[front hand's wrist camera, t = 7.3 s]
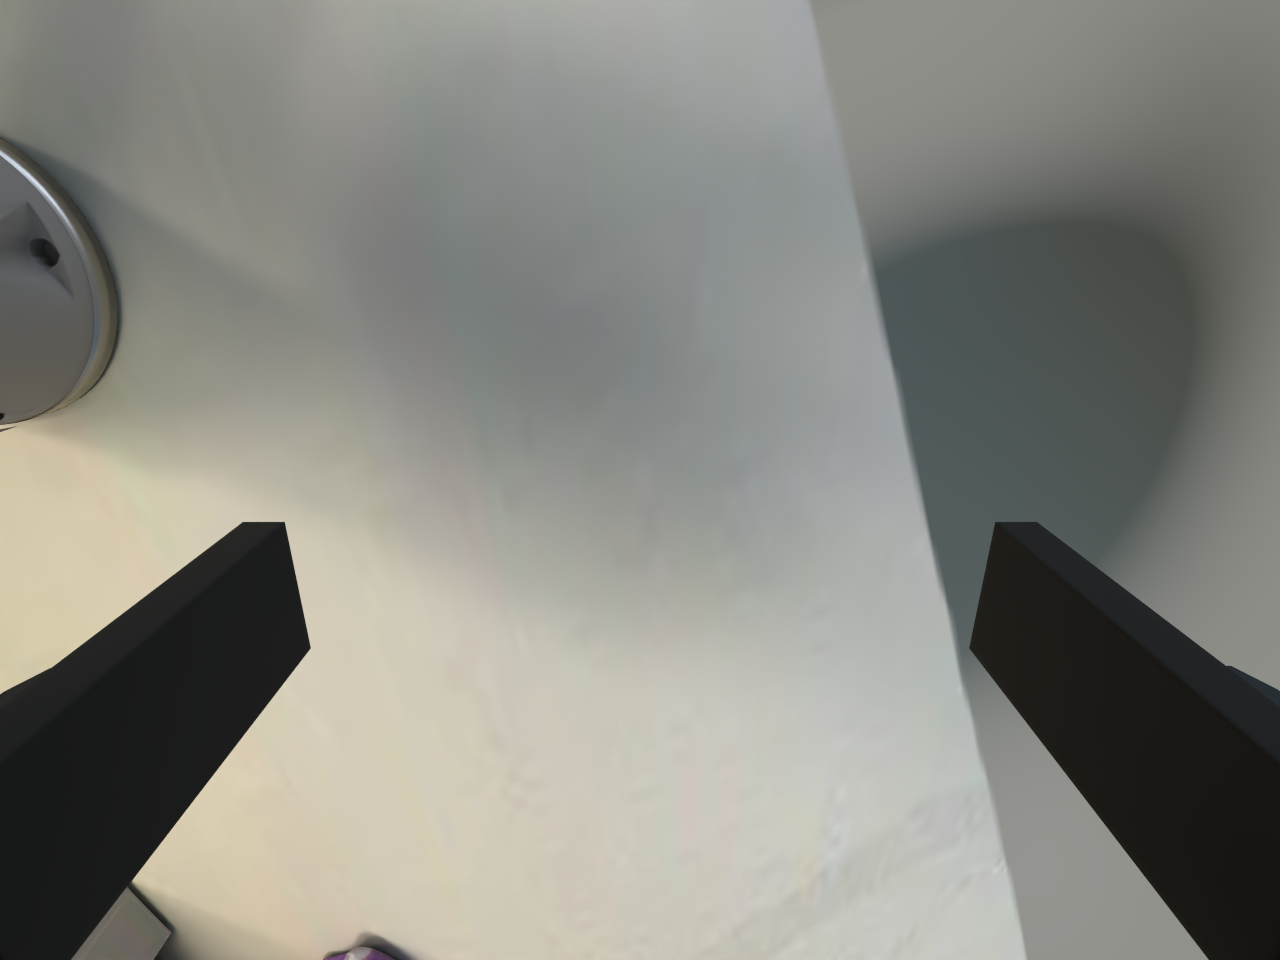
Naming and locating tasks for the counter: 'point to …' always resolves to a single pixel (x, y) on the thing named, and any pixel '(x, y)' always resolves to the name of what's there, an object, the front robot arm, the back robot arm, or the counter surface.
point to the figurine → (361, 955)
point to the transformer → (125, 933)
